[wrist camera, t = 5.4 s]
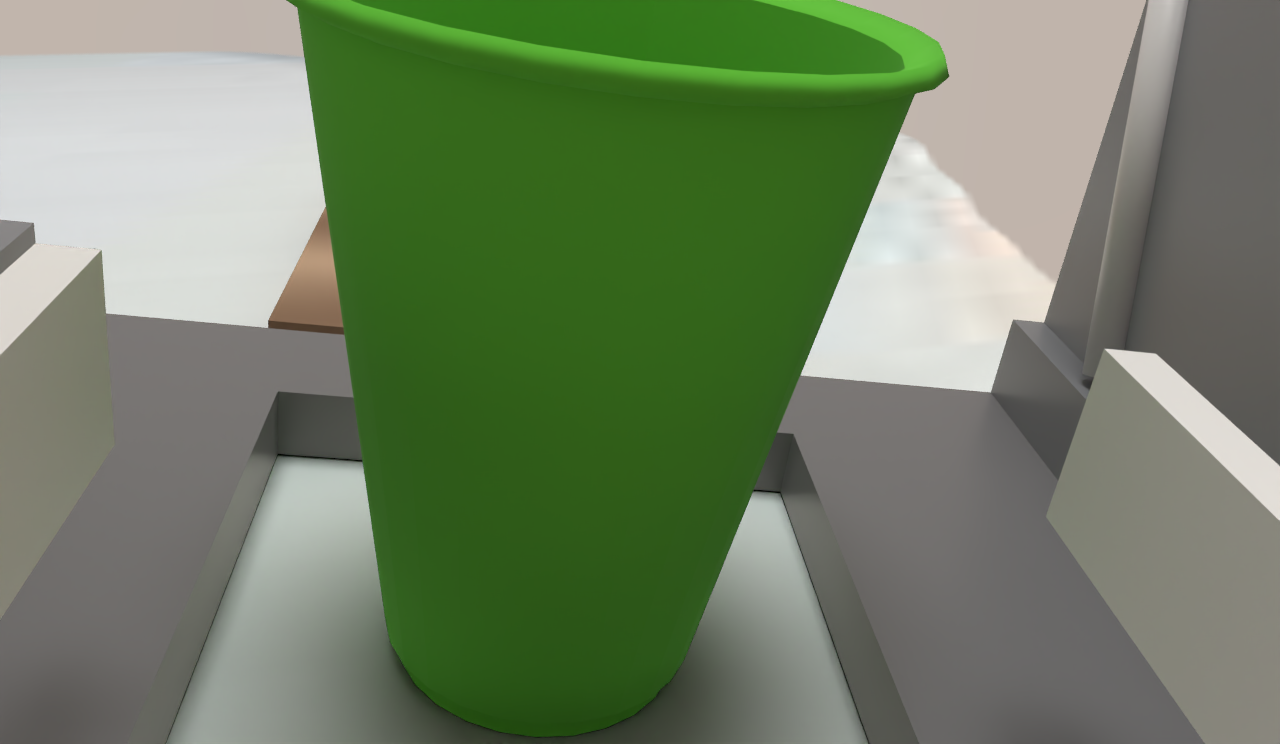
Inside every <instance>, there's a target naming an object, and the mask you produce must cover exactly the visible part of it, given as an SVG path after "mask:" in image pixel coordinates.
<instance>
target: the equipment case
mask: <svg viewBox="0 0 1280 744" xmlns="http://www.w3.org/2000/svg"><path fill="white" fill-rule="evenodd" d="M34 244H35V232H34V223H28V222H18V221H7V220H0V274H2V273H3V272H4V271H5V270H6V269H7V268H8V267H9V266H11V265H12V264H13V263H14V262H15V261H16V260H17V259H18V258H20V257H21V256H22V255H23V254H24V253H25V252H26V251H27V250H29V249H30V248H31V247H32V246H33V245H34ZM106 324H107V338H108V353H109V368H110V382H111V397H112V411H113V426H114V441H115V445H114V446H113V448H112V449H111V451H110V452H109V454H108V455H107V457H106V459H105V460H104V462H103V463H102V465H101V466H100V468H99V469H98V471H97V472H96V474H95V475H94V477H93V478H92V480H91V482H90V483H89V485H88V486H87V488H86V489H85V491H84V492H83V494H82V495H81V497H80V498H79V500H78V501H77V503H76V504H75V506H74V508H73V509H72V511H71V512H70V514H69V515H68V517H67V518H66V520H65V521H64V523H63V524H62V526H61V527H60V529H59V531H58V532H57V534H56V535H55V537H54V538H53V540H52V541H51V543H50V544H49V546H48V547H47V549H46V550H45V552H44V553H43V555H42V557H41V558H40V560H39V561H38V563H37V564H36V566H35V567H34V569H33V570H32V572H31V573H30V575H29V576H28V578H27V579H26V581H25V583H24V584H23V586H22V587H21V589H20V590H19V592H18V593H17V595H16V596H15V598H14V599H13V601H12V602H11V604H10V606H9V607H8V609H7V610H6V612H5V613H4V615H3V616H2V618H1V619H0V744H165V743H166V740H167V738H168V735H169V733H170V730H171V727H172V725H173V722H174V720H175V717H176V715H177V712H178V709H179V707H180V704H181V702H182V699H183V696H184V694H185V691H186V689H187V686H188V684H189V681H190V678H191V676H192V673H193V671H194V668H195V666H196V663H197V660H198V658H199V655H200V653H201V650H202V648H203V645H204V642H205V640H206V637H207V635H208V632H209V629H210V627H211V624H212V622H213V619H214V617H215V614H216V611H217V609H218V606H219V604H220V601H221V599H222V596H223V593H224V591H225V588H226V586H227V583H228V581H229V578H230V575H231V573H232V570H233V568H234V565H235V563H236V560H237V557H238V555H239V552H240V550H241V547H242V544H243V542H244V539H245V537H246V534H247V532H248V529H249V526H250V524H251V521H252V519H253V516H254V514H255V511H256V508H257V506H258V503H259V501H260V498H261V496H262V493H263V490H264V488H265V485H266V483H267V480H268V477H269V475H270V472H271V470H272V467H273V465H274V462H275V459H276V457H277V454H287V455H301V456H314V457H327V458H341V459H354V460H362V453H361V447H360V440H359V433H358V426H357V419H356V412H355V405H354V398H353V391H352V384H351V377H350V370H349V363H348V356H347V349H346V342H345V335H340V334H329V333H317V332H306V331H295V330H284V329H273V328H261V327H250V326H239V325H228V324H217V323H205V322H194V321H183V320H172V319H161V318H149V317H138V316H127V315H116V314H106ZM1104 349H1114V350H1124V351H1134V352H1144V353H1155V354H1157V355H1158V356H1159V357H1160V358H1161V359H1162V360H1164V361H1165V362H1166V363H1167V364H1168V365H1169V366H1170V367H1171V368H1172V369H1173V370H1175V371H1176V372H1177V373H1178V374H1179V375H1180V376H1181V377H1182V378H1183V379H1184V380H1186V381H1187V382H1188V383H1189V384H1190V385H1191V386H1192V387H1193V388H1194V389H1195V390H1197V391H1198V392H1199V393H1200V394H1201V395H1202V396H1203V397H1204V398H1205V399H1206V400H1208V401H1209V402H1210V403H1211V404H1212V405H1213V406H1214V407H1215V408H1216V409H1217V410H1219V411H1220V412H1221V413H1222V414H1223V415H1224V416H1225V417H1226V418H1227V419H1229V420H1230V421H1231V422H1232V423H1233V424H1234V425H1235V426H1236V427H1237V428H1238V429H1240V430H1241V431H1242V432H1243V433H1244V434H1245V435H1246V436H1247V437H1248V438H1249V439H1251V440H1252V441H1253V442H1254V443H1255V444H1256V445H1257V446H1258V447H1259V448H1260V449H1262V450H1263V451H1264V452H1265V453H1266V454H1267V455H1268V456H1269V457H1270V458H1271V459H1273V460H1274V461H1275V462H1276V463H1277V464H1278V465H1279V466H1280V0H1146V4H1145V7H1144V10H1143V13H1142V17H1141V19H1140V23H1139V26H1138V29H1137V32H1136V35H1135V38H1134V41H1133V45H1132V48H1131V51H1130V54H1129V57H1128V60H1127V63H1126V67H1125V70H1124V73H1123V76H1122V79H1121V82H1120V86H1119V89H1118V92H1117V95H1116V98H1115V102H1114V105H1113V108H1112V111H1111V114H1110V117H1109V120H1108V123H1107V126H1106V130H1105V133H1104V136H1103V139H1102V142H1101V146H1100V149H1099V152H1098V155H1097V158H1096V161H1095V164H1094V168H1093V171H1092V174H1091V177H1090V180H1089V183H1088V186H1087V190H1086V193H1085V196H1084V199H1083V202H1082V205H1081V209H1080V212H1079V215H1078V218H1077V221H1076V224H1075V227H1074V230H1073V234H1072V237H1071V240H1070V243H1069V247H1068V250H1067V253H1066V256H1065V259H1064V262H1063V265H1062V269H1061V271H1060V275H1059V278H1058V281H1057V284H1056V287H1055V290H1054V293H1053V297H1052V300H1051V303H1050V306H1049V309H1048V312H1047V315H1046V319H1045V322H1044V323H1042V322H1032V321H1022V320H1013V322H1012V325H1011V328H1010V331H1009V335H1008V338H1007V341H1006V345H1005V348H1004V351H1003V354H1002V358H1001V361H1000V364H999V368H998V371H997V374H996V377H995V381H994V384H993V387H992V391H991V393H989V392H978V391H966V390H955V389H944V388H933V387H922V386H910V385H899V384H888V383H877V382H866V381H854V380H843V379H832V378H821V377H810V376H800V377H799V380H798V382H797V384H796V387H795V389H794V392H793V394H792V397H791V399H790V402H789V404H788V407H787V409H786V411H785V414H784V416H783V419H782V421H781V424H780V426H779V429H778V431H777V433H776V436H775V438H774V441H773V443H772V446H771V448H770V451H769V453H768V456H767V458H766V460H765V463H764V465H763V468H762V470H761V473H760V475H759V478H758V480H757V483H756V485H755V487H754V490H766V491H779V492H781V495H782V497H783V500H784V503H785V506H786V509H787V512H788V514H789V517H790V520H791V523H792V526H793V529H794V531H795V534H796V537H797V540H798V543H799V546H800V548H801V551H802V554H803V557H804V560H805V562H806V565H807V568H808V571H809V574H810V577H811V579H812V582H813V585H814V588H815V591H816V594H817V596H818V599H819V602H820V605H821V608H822V611H823V613H824V616H825V619H826V622H827V625H828V627H829V630H830V633H831V636H832V639H833V642H834V644H835V647H836V650H837V653H838V656H839V659H840V661H841V664H842V667H843V670H844V673H845V676H846V678H847V681H848V684H849V687H850V690H851V693H852V695H853V698H854V701H855V704H856V707H857V709H858V712H859V715H860V718H861V721H862V724H863V726H864V729H865V732H866V735H867V738H868V741H869V743H870V744H1205V743H1204V742H1203V740H1202V739H1201V737H1200V736H1199V734H1198V733H1197V732H1196V730H1195V729H1194V727H1193V726H1192V724H1191V723H1190V722H1189V720H1188V719H1187V717H1186V716H1185V715H1184V713H1183V712H1182V710H1181V709H1180V707H1179V706H1178V705H1177V703H1176V702H1175V700H1174V699H1173V697H1172V696H1171V695H1170V693H1169V692H1168V690H1167V689H1166V687H1165V686H1164V685H1163V683H1162V682H1161V680H1160V679H1159V677H1158V676H1157V675H1156V673H1155V672H1154V670H1153V669H1152V667H1151V666H1150V665H1149V663H1148V662H1147V660H1146V659H1145V657H1144V656H1143V655H1142V653H1141V652H1140V650H1139V649H1138V647H1137V646H1136V645H1135V643H1134V642H1133V640H1132V639H1131V637H1130V636H1129V635H1128V633H1127V632H1126V630H1125V629H1124V627H1123V626H1122V625H1121V623H1120V622H1119V620H1118V619H1117V617H1116V616H1115V615H1114V613H1113V612H1112V610H1111V609H1110V607H1109V606H1108V605H1107V603H1106V602H1105V600H1104V599H1103V597H1102V596H1101V595H1100V593H1099V592H1098V590H1097V589H1096V587H1095V586H1094V585H1093V583H1092V582H1091V580H1090V579H1089V577H1088V576H1087V575H1086V573H1085V572H1084V570H1083V569H1082V568H1081V566H1080V565H1079V563H1078V562H1077V560H1076V559H1075V558H1074V556H1073V555H1072V553H1071V552H1070V550H1069V549H1068V548H1067V546H1066V545H1065V543H1064V542H1063V540H1062V539H1061V538H1060V536H1059V535H1058V533H1057V532H1056V530H1055V529H1054V528H1053V526H1052V525H1051V523H1050V522H1049V520H1048V519H1047V518H1046V515H1047V512H1048V509H1049V506H1050V503H1051V500H1052V497H1053V494H1054V492H1055V489H1056V486H1057V483H1058V480H1059V477H1060V474H1061V471H1062V469H1063V466H1064V463H1065V460H1066V457H1067V454H1068V451H1069V448H1070V445H1071V443H1072V440H1073V437H1074V434H1075V431H1076V428H1077V425H1078V422H1079V419H1080V417H1081V414H1082V411H1083V408H1084V405H1085V402H1086V399H1087V396H1088V394H1089V391H1090V388H1091V385H1092V382H1093V379H1094V376H1095V373H1096V370H1097V368H1098V365H1099V362H1100V359H1101V356H1102V353H1103V350H1104Z"/></svg>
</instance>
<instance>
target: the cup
mask: <svg viewBox="0 0 1280 744" xmlns="http://www.w3.org/2000/svg"><path fill="white" fill-rule="evenodd" d="M287 1H289V2H290V3H292V4H293V5H294V6H296V7H297V8H298V15H299V22H300V29H301V36H302V43H303V50H304V57H305V64H306V71H307V78H308V85H309V92H310V99H311V106H312V113H313V120H314V127H315V134H316V141H317V147H318V154H319V161H320V168H321V175H322V182H323V189H324V196H325V203H326V210H327V217H328V224H329V231H330V238H331V245H332V252H333V259H334V266H335V273H336V280H337V287H338V294H339V300H340V307H341V314H342V321H343V328H344V335H345V342H346V349H347V356H348V363H349V370H350V377H351V384H352V391H353V398H354V405H355V412H356V419H357V426H358V433H359V440H360V447H361V453H362V460H363V467H364V474H365V481H366V488H367V495H368V502H369V509H370V516H371V523H372V530H373V537H374V544H375V551H376V558H377V565H378V572H379V579H380V586H381V593H382V600H383V606H384V613H385V620H386V625H387V630H388V634H389V639H390V643H391V645H392V646H393V648H394V650H395V651H396V653H397V654H398V656H399V658H400V659H401V661H402V664H403V666H404V667H405V669H406V671H407V672H408V674H409V675H410V677H411V679H412V680H413V682H414V684H415V685H416V686H417V687H418V688H419V689H420V690H421V691H422V692H424V693H425V694H426V695H427V696H428V697H429V698H430V699H431V700H432V701H433V702H434V703H436V704H437V705H438V706H440V707H442V708H444V709H445V710H447V711H449V712H451V713H452V714H454V715H456V716H458V717H460V718H461V719H463V720H465V721H467V722H470V723H473V724H477V725H480V726H483V727H486V728H489V729H492V730H495V731H498V732H503V733H510V734H517V735H525V736H532V737H553V736H574V735H578V734H582V733H587V732H591V731H595V730H600V729H604V728H607V727H610V726H612V725H614V724H616V723H618V722H620V721H622V720H624V719H627V718H629V717H631V716H633V715H635V714H636V713H637V712H638V711H640V710H641V709H642V708H643V707H644V706H646V705H647V704H648V703H649V702H650V701H652V700H653V699H654V698H655V697H656V695H657V694H658V692H659V691H660V689H662V688H663V687H664V686H665V685H666V684H668V683H669V682H670V681H671V680H672V678H673V677H674V675H675V673H676V672H677V670H678V669H679V667H680V665H681V664H682V662H683V661H684V659H685V657H686V654H687V652H688V649H689V647H690V644H691V642H692V639H693V637H694V635H695V632H696V630H697V627H698V625H699V622H700V620H701V617H702V615H703V613H704V610H705V608H706V605H707V603H708V600H709V598H710V595H711V593H712V590H713V588H714V586H715V583H716V581H717V578H718V576H719V573H720V571H721V568H722V566H723V563H724V561H725V559H726V556H727V554H728V551H729V549H730V546H731V544H732V541H733V539H734V536H735V534H736V532H737V529H738V527H739V524H740V522H741V519H742V517H743V514H744V512H745V510H746V507H747V505H748V502H749V500H750V497H751V495H752V492H753V490H754V487H755V485H756V483H757V480H758V478H759V475H760V473H761V470H762V468H763V465H764V463H765V460H766V458H767V456H768V453H769V451H770V448H771V446H772V443H773V441H774V438H775V436H776V433H777V431H778V429H779V426H780V424H781V421H782V419H783V416H784V414H785V411H786V409H787V407H788V404H789V402H790V399H791V397H792V394H793V392H794V389H795V387H796V384H797V382H798V380H799V377H800V375H801V372H802V370H803V367H804V365H805V362H806V360H807V357H808V355H809V353H810V350H811V348H812V345H813V343H814V340H815V338H816V335H817V333H818V330H819V328H820V326H821V323H822V321H823V318H824V316H825V313H826V311H827V308H828V306H829V304H830V301H831V299H832V296H833V294H834V291H835V289H836V286H837V284H838V281H839V279H840V277H841V274H842V272H843V269H844V267H845V264H846V262H847V259H848V257H849V254H850V252H851V250H852V247H853V245H854V242H855V240H856V237H857V235H858V232H859V230H860V227H861V225H862V223H863V220H864V218H865V215H866V213H867V210H868V208H869V205H870V203H871V201H872V198H873V196H874V193H875V191H876V188H877V186H878V183H879V181H880V178H881V176H882V174H883V171H884V169H885V166H886V164H887V161H888V159H889V156H890V154H891V151H892V149H893V147H894V144H895V142H896V139H897V137H898V134H899V132H900V129H901V127H902V124H903V122H904V119H905V117H906V115H907V112H908V110H909V107H910V105H911V102H912V100H913V97H914V95H915V93H920V92H924V91H929V90H933V89H935V88H936V87H938V86H939V85H940V84H941V83H942V82H944V81H945V80H946V79H947V78H948V77H949V74H948V69H947V64H946V59H945V55H944V53H943V51H942V48H941V46H940V44H939V42H937V41H936V40H934V39H932V38H931V37H929V36H928V35H926V34H924V33H923V32H921V31H920V30H918V29H916V28H913V27H912V26H909V25H907V24H904V23H902V22H899V21H896V20H894V19H892V18H889V17H887V16H884V15H881V14H879V13H876V12H872V11H869V10H866V9H863V8H859V7H856V6H853V5H850V4H847V3H843V2H840V1H837V0H287Z"/></svg>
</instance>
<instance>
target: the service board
mask: <svg viewBox="0 0 1280 744" xmlns="http://www.w3.org/2000/svg"><path fill="white" fill-rule="evenodd" d="M268 328H273V329H284V330H295V331H306V332H317V333H329V334H340V335H344V328H343V321H342V314H341V307H340V300H339V294H338V287H337V280H336V273H335V266H334V259H333V252H332V245H331V238H330V231H329V224H328V217H327V210H326V207H325V209H324V211H323V213H322V215H321V217H320V219H319V221H318V223H317V225H316V227H315V229H314V231H313V233H312V235H311V237H310V239H309V241H308V243H307V245H306V247H305V249H304V251H303V253H302V255H301V257H300V259H299V261H298V263H297V265H296V267H295V269H294V271H293V273H292V275H291V277H290V279H289V281H288V283H287V285H286V287H285V289H284V291H283V293H282V295H281V297H280V299H279V300H278V302H277V304H276V306H275V308H274V310H273V312H272V314H271V316H270V318H269V320H268Z"/></svg>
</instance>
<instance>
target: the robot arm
mask: <svg viewBox="0 0 1280 744" xmlns="http://www.w3.org/2000/svg"><path fill="white" fill-rule="evenodd" d="M114 445H115V441H114V426H113V411H112V397H111V382H110V368H109V353H108V338H107V324H106V309H105V295H104V280H103V265H102V251H101V250H98V249H87V248H77V247H67V246H57V245H47V244H37V243H35V244H34V245H33V246H32V247H31V248H30V249H29V250H27V251H26V252H25V253H24V254H23V255H22V256H21V257H20V258H18V259H17V260H16V261H15V262H14V263H13V264H12V265H11V266H9V267H8V268H7V269H6V270H5V271H4V272H3V273H2V274H0V619H1V618H2V616H3V615H4V613H5V612H6V610H7V609H8V607H9V606H10V604H11V602H12V601H13V599H14V598H15V596H16V595H17V593H18V592H19V590H20V589H21V587H22V586H23V584H24V583H25V581H26V579H27V578H28V576H29V575H30V573H31V572H32V570H33V569H34V567H35V566H36V564H37V563H38V561H39V560H40V558H41V557H42V555H43V553H44V552H45V550H46V549H47V547H48V546H49V544H50V543H51V541H52V540H53V538H54V537H55V535H56V534H57V532H58V531H59V529H60V527H61V526H62V524H63V523H64V521H65V520H66V518H67V517H68V515H69V514H70V512H71V511H72V509H73V508H74V506H75V504H76V503H77V501H78V500H79V498H80V497H81V495H82V494H83V492H84V491H85V489H86V488H87V486H88V485H89V483H90V482H91V480H92V478H93V477H94V475H95V474H96V472H97V471H98V469H99V468H100V466H101V465H102V463H103V462H104V460H105V459H106V457H107V455H108V454H109V452H110V451H111V449H112V448H113V446H114ZM1046 518H1047V519H1048V520H1049V522H1050V523H1051V525H1052V526H1053V528H1054V529H1055V530H1056V532H1057V533H1058V535H1059V536H1060V538H1061V539H1062V540H1063V542H1064V543H1065V545H1066V546H1067V548H1068V549H1069V550H1070V552H1071V553H1072V555H1073V556H1074V558H1075V559H1076V560H1077V562H1078V563H1079V565H1080V566H1081V568H1082V569H1083V570H1084V572H1085V573H1086V575H1087V576H1088V577H1089V579H1090V580H1091V582H1092V583H1093V585H1094V586H1095V587H1096V589H1097V590H1098V592H1099V593H1100V595H1101V596H1102V597H1103V599H1104V600H1105V602H1106V603H1107V605H1108V606H1109V607H1110V609H1111V610H1112V612H1113V613H1114V615H1115V616H1116V617H1117V619H1118V620H1119V622H1120V623H1121V625H1122V626H1123V627H1124V629H1125V630H1126V632H1127V633H1128V635H1129V636H1130V637H1131V639H1132V640H1133V642H1134V643H1135V645H1136V646H1137V647H1138V649H1139V650H1140V652H1141V653H1142V655H1143V656H1144V657H1145V659H1146V660H1147V662H1148V663H1149V665H1150V666H1151V667H1152V669H1153V670H1154V672H1155V673H1156V675H1157V676H1158V677H1159V679H1160V680H1161V682H1162V683H1163V685H1164V686H1165V687H1166V689H1167V690H1168V692H1169V693H1170V695H1171V696H1172V697H1173V699H1174V700H1175V702H1176V703H1177V705H1178V706H1179V707H1180V709H1181V710H1182V712H1183V713H1184V715H1185V716H1186V717H1187V719H1188V720H1189V722H1190V723H1191V724H1192V726H1193V727H1194V729H1195V730H1196V732H1197V733H1198V734H1199V736H1200V737H1201V739H1202V740H1203V742H1204V743H1205V744H1280V466H1279V465H1278V464H1277V463H1276V462H1275V461H1274V460H1273V459H1271V458H1270V457H1269V456H1268V455H1267V454H1266V453H1265V452H1264V451H1263V450H1262V449H1260V448H1259V447H1258V446H1257V445H1256V444H1255V443H1254V442H1253V441H1252V440H1251V439H1249V438H1248V437H1247V436H1246V435H1245V434H1244V433H1243V432H1242V431H1241V430H1240V429H1238V428H1237V427H1236V426H1235V425H1234V424H1233V423H1232V422H1231V421H1230V420H1229V419H1227V418H1226V417H1225V416H1224V415H1223V414H1222V413H1221V412H1220V411H1219V410H1217V409H1216V408H1215V407H1214V406H1213V405H1212V404H1211V403H1210V402H1209V401H1208V400H1206V399H1205V398H1204V397H1203V396H1202V395H1201V394H1200V393H1199V392H1198V391H1197V390H1195V389H1194V388H1193V387H1192V386H1191V385H1190V384H1189V383H1188V382H1187V381H1186V380H1184V379H1183V378H1182V377H1181V376H1180V375H1179V374H1178V373H1177V372H1176V371H1175V370H1173V369H1172V368H1171V367H1170V366H1169V365H1168V364H1167V363H1166V362H1165V361H1164V360H1162V359H1161V358H1160V357H1159V356H1158V355H1157V354H1155V353H1144V352H1134V351H1124V350H1114V349H1104V350H1103V353H1102V356H1101V359H1100V362H1099V365H1098V368H1097V370H1096V373H1095V376H1094V379H1093V382H1092V385H1091V388H1090V391H1089V394H1088V396H1087V399H1086V402H1085V405H1084V408H1083V411H1082V414H1081V417H1080V419H1079V422H1078V425H1077V428H1076V431H1075V434H1074V437H1073V440H1072V443H1071V445H1070V448H1069V451H1068V454H1067V457H1066V460H1065V463H1064V466H1063V469H1062V471H1061V474H1060V477H1059V480H1058V483H1057V486H1056V489H1055V492H1054V494H1053V497H1052V500H1051V503H1050V506H1049V509H1048V512H1047V515H1046Z"/></svg>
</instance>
